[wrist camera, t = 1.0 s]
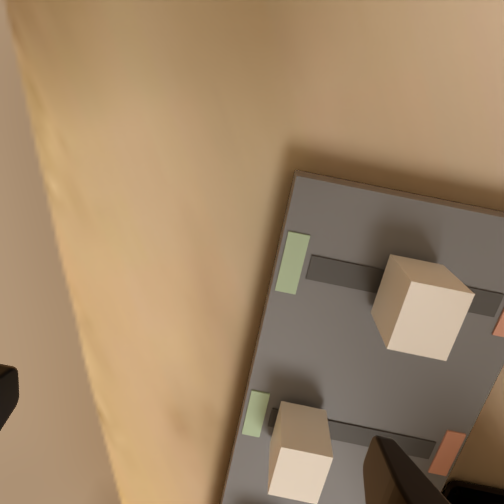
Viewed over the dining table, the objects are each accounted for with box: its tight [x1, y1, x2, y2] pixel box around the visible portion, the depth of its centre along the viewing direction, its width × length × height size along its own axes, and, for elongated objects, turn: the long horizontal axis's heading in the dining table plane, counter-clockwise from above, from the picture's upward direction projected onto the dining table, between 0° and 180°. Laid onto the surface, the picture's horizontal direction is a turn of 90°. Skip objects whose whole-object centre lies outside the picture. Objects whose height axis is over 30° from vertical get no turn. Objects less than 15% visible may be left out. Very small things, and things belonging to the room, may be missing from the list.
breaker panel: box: [220, 170, 504, 504], centre depth 22 cm, size 12×25×2 cm, turn 169°
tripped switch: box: [371, 254, 475, 361], centre depth 16 cm, size 2×3×3 cm
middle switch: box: [268, 401, 333, 504], centre depth 19 cm, size 2×3×3 cm
